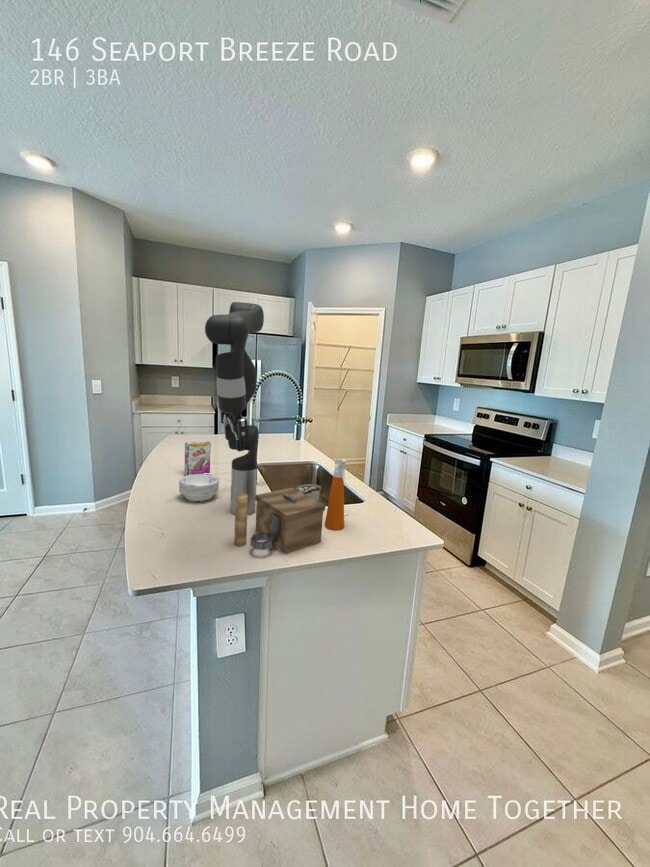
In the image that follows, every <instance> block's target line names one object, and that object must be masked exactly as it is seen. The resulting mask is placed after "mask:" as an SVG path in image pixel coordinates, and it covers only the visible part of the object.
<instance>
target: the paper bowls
mask: <svg viewBox="0 0 650 867" xmlns="http://www.w3.org/2000/svg"><path fill="white" fill-rule="evenodd" d="M178 482H179V483H178V484H179V486H178V487H179V488H178V490H179V493H180V495H182V496H184V497H185V499H186V500H188V501H190V502H195V501H200V502H205V500H206V501H208V500H210V499H212V498H213V496H215V495H216V494H217V493H219V488H220V479H219V478H218V477H217V476H215V475H212V474H208V475H206V474H195V475H188V476H186V475H185V476H183V477H180V479H179V481H178Z"/></svg>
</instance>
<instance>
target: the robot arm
mask: <svg viewBox="0 0 650 867" xmlns="http://www.w3.org/2000/svg"><path fill="white" fill-rule="evenodd" d="M229 306H230V307H229V312H228V313H227V314H213V315H211V316H210V317H208V318H207V320H206V322H205V325H204V332H205V335H206V339H208V340H209V342H211V343H213V345H214V344H216V345H227V346H228V345H229V346H230V351H227V352H222V353H219V354H217V355H216V357H215V368H216V390H217V394H216V395H217V402H218V403H217V404H218V409H219V410H220V412H219V413H220V423H221V424H222V425H223V428H224V433H225V434H224V435H225V436H224V438H225V439H226V440H227V443H228V447H229V449H230V450H232V451H233V450H234V451H237V452H244V451H248V452H247V453H245V454H244V455H242V456H238V457H236V458H233V459H232V460H231V474H230V476H231V478H230V479H231V480H230V482H231V485H230V512H231V513H232V514H233V515H235V504H236V494H238V493H246V494H248V505H247V516H248V515H253V514H255V513H256V505H257V501H256V500H255V495H257V478H258V477H257V474H258V473H257V472H258V449H259V439H260V437H259V436H260V434H259V431H260V430H259V428H258V426H257V425H253V424H251V425H250V424H248V419H247V418H244V417H243V415H242V412H243V411H244V410H246V408H247V405H248V403H249V402H250V401H251V399H253V397H254V395H255V394H256V392H257V376H258V374H257V368H256V367H255V364H254V362H253V361H252V359H251V357H250V356H249V354H248V353H247V351H246V349H245V348H246V344H247V341H248V336H249V334H250V333H258V332H261V330H263V327H264V321H265V318H264V317H265V313H264V310H263V307H262V306H261V305H259V304H257V303H253V302H240V301H239V302H238V301H233V302H231V303H230V305H229Z"/></svg>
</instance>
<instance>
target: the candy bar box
mask: <svg viewBox="0 0 650 867" xmlns="http://www.w3.org/2000/svg"><path fill="white" fill-rule="evenodd" d="M211 446H212V445H211V442H210V441H209V440H200V441H199V440H196V441H185V442H184V473H185V474H186V475H187V476H188V475H195V474H204V473H211ZM185 474H184V475H185ZM186 475H185V476H186Z"/></svg>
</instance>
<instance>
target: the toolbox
mask: <svg viewBox="0 0 650 867" xmlns="http://www.w3.org/2000/svg"><path fill="white" fill-rule="evenodd" d="M255 500H256V506H255V532H256V533H269V534H272V533H273V532H272V514H276V515H277V516H279V517H280V518H281V530H280V537H278V541H277V542H274V544H273V546H274V547H275V548H277V549H278V551H280V552H281V553H282V554H284V555H286V554H290V553H293V552H296V551H298V550H302V549H304V548H307V547H311V546H314V545H316V544H319V543H321V542H322V531H323V519H324V518H323V516H324V512H326V505H325V504H323V503H322V502H320V501H319V502H318V501H316V500H314V499H312V498H310V497H309V496H307V495H305V494H303V493H301V492H299V491H297V490H296V489H295V488H293V487H289V488H283V489H279V490H278V489H277V490H274V491H268V492H263V493H258V494H256V495H255Z"/></svg>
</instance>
